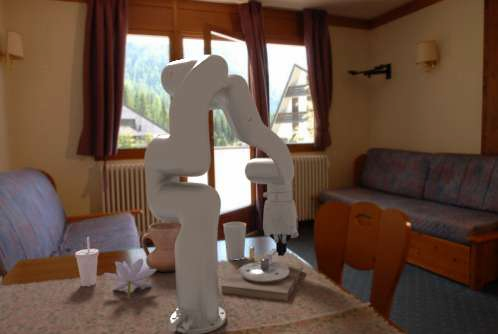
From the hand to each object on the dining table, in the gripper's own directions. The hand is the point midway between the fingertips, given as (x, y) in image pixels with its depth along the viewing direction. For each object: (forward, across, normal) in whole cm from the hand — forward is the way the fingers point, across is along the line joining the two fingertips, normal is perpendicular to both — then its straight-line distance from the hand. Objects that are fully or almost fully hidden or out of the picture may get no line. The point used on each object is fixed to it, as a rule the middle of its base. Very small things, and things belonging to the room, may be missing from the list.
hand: (281, 254), depth 115 cm
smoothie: (+4, -51, -27) cm, 58 cm away
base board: (+5, -2, -10) cm, 11 cm away
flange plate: (+3, -2, -8) cm, 9 cm away
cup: (+6, -19, +8) cm, 21 cm away
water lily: (+4, -35, -28) cm, 45 cm away
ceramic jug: (+5, -37, -8) cm, 38 cm away
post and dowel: (+3, -5, -7) cm, 9 cm away
